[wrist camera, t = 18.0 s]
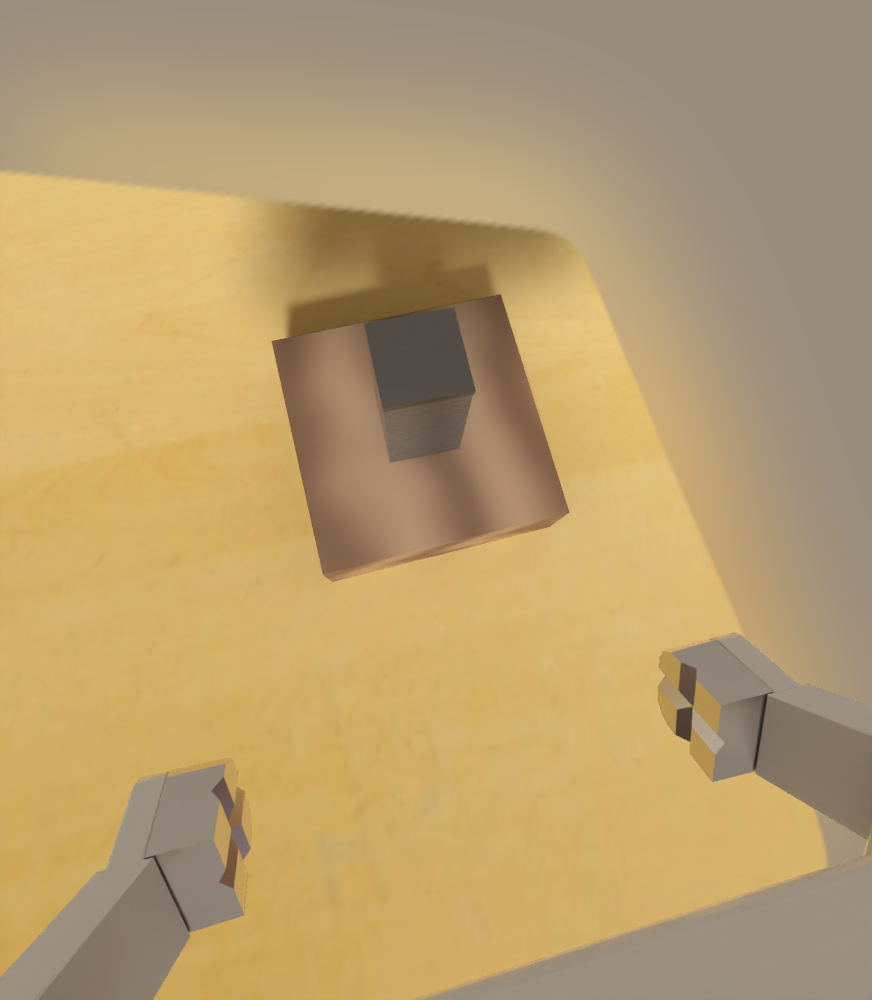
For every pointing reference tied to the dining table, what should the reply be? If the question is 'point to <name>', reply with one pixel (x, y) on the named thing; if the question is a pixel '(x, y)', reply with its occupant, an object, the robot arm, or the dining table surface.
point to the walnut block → (422, 480)
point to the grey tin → (420, 382)
